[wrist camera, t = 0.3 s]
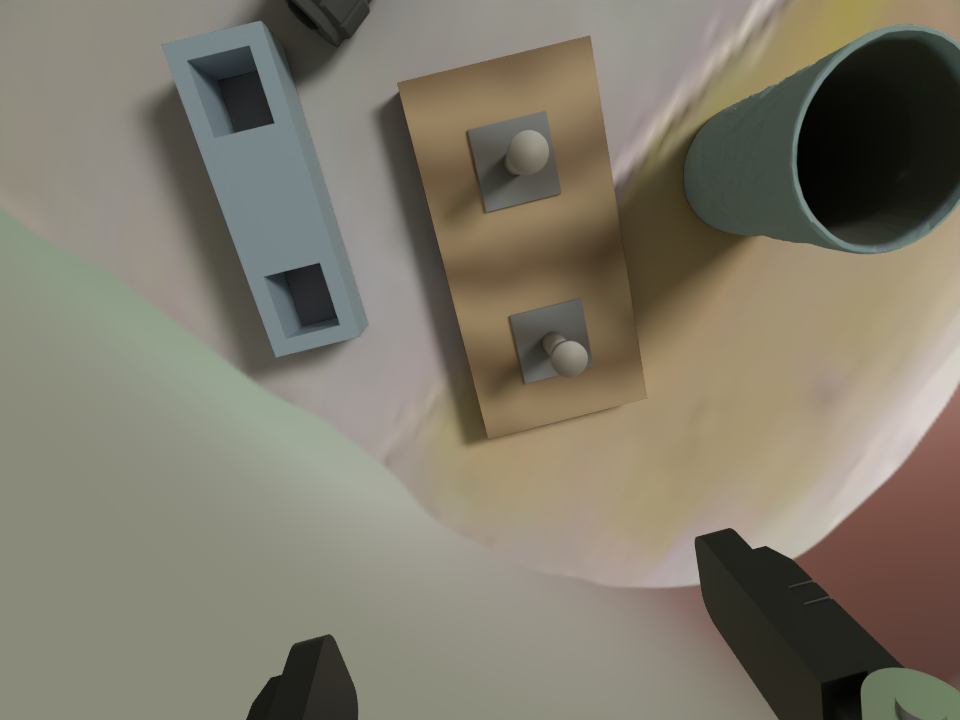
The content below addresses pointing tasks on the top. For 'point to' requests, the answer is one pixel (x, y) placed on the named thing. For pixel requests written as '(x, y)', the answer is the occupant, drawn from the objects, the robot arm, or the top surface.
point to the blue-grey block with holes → (267, 183)
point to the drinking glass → (839, 148)
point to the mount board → (529, 233)
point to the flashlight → (331, 16)
